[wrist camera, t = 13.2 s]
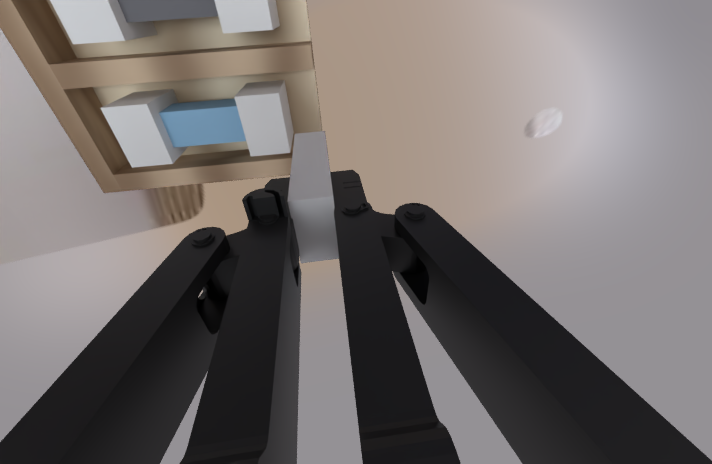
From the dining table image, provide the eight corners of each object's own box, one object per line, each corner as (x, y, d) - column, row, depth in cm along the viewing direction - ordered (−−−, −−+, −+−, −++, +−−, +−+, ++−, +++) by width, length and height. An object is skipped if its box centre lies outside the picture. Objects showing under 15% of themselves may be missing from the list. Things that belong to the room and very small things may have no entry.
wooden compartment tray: (293, -109, 18) (288, -131, 15) (325, 154, 28) (326, 171, 25) (-20, -93, 17) (-88, -113, 14) (126, 172, 27) (104, 193, 24)
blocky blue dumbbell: (157, 144, 25) (131, 167, 21) (134, 92, 22) (100, 107, 19) (293, 132, 25) (290, 152, 22) (284, 79, 23) (278, 93, 19)
